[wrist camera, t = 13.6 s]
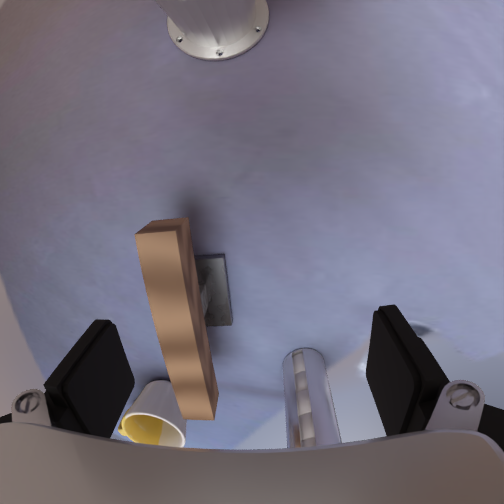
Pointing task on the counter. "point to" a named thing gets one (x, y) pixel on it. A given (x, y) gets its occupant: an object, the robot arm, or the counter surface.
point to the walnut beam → (178, 314)
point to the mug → (155, 417)
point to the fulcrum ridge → (214, 289)
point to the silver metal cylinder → (308, 401)
